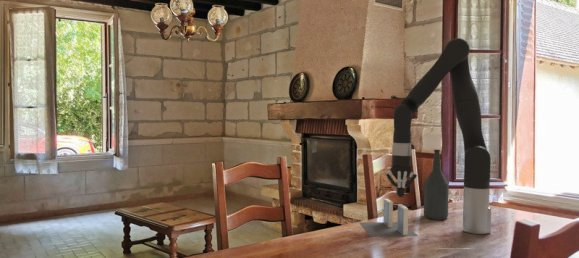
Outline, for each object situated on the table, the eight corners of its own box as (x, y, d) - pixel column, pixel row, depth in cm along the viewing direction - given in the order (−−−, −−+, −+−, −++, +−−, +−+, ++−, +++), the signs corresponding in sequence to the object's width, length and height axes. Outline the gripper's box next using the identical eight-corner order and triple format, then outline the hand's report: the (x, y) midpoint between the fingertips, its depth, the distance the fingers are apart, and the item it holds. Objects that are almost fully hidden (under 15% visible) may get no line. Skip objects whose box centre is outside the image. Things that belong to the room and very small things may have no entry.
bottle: (419, 217, 204) (420, 149, 203) (431, 214, 211) (432, 148, 210) (440, 221, 197) (442, 150, 196) (452, 218, 203) (453, 149, 202)
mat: (401, 223, 193) (401, 222, 193) (418, 237, 171) (418, 236, 171) (358, 223, 192) (358, 222, 192) (370, 237, 170) (370, 236, 170)
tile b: (401, 229, 180) (402, 204, 180) (407, 235, 172) (408, 208, 172) (397, 229, 180) (397, 204, 180) (403, 235, 172) (403, 208, 172)
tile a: (387, 222, 192) (387, 198, 192) (392, 227, 184) (392, 202, 184) (383, 222, 192) (383, 198, 191) (388, 227, 184) (388, 202, 183)
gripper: (414, 153, 191) (413, 195, 192) (383, 152, 191) (381, 194, 191) (420, 155, 184) (419, 198, 184) (387, 154, 183) (386, 198, 184)
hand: (400, 196), depth 188 cm, fingers closed
